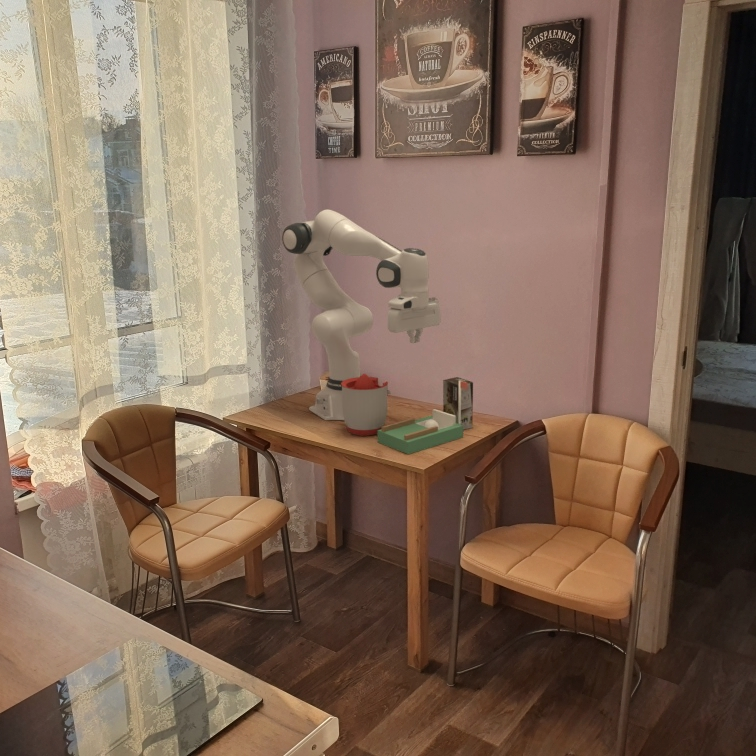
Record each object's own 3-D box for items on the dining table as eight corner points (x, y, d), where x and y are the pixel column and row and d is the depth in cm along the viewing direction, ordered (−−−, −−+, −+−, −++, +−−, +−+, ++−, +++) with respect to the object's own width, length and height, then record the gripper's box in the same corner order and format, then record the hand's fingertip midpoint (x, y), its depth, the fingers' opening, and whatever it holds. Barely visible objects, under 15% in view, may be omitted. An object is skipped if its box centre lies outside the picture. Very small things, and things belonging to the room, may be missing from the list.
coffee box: (473, 427, 265) (474, 382, 260) (458, 431, 261) (458, 385, 257) (457, 420, 272) (457, 376, 268) (442, 424, 269) (442, 379, 265)
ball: (419, 425, 256) (428, 414, 257) (421, 433, 260) (430, 422, 261) (432, 432, 253) (440, 421, 255) (433, 440, 257) (442, 428, 259)
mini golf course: (377, 442, 252) (376, 385, 247) (431, 426, 267) (431, 372, 262) (412, 456, 239) (412, 396, 234) (467, 438, 254) (468, 382, 249)
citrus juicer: (401, 431, 262) (401, 374, 257) (358, 441, 253) (356, 382, 248) (376, 419, 275) (375, 365, 270) (333, 429, 265) (332, 372, 260)
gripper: (431, 295, 257) (431, 336, 261) (384, 302, 245) (384, 345, 248) (445, 297, 252) (444, 339, 256) (397, 305, 240) (397, 348, 244)
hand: (414, 342), depth 252 cm, fingers closed
